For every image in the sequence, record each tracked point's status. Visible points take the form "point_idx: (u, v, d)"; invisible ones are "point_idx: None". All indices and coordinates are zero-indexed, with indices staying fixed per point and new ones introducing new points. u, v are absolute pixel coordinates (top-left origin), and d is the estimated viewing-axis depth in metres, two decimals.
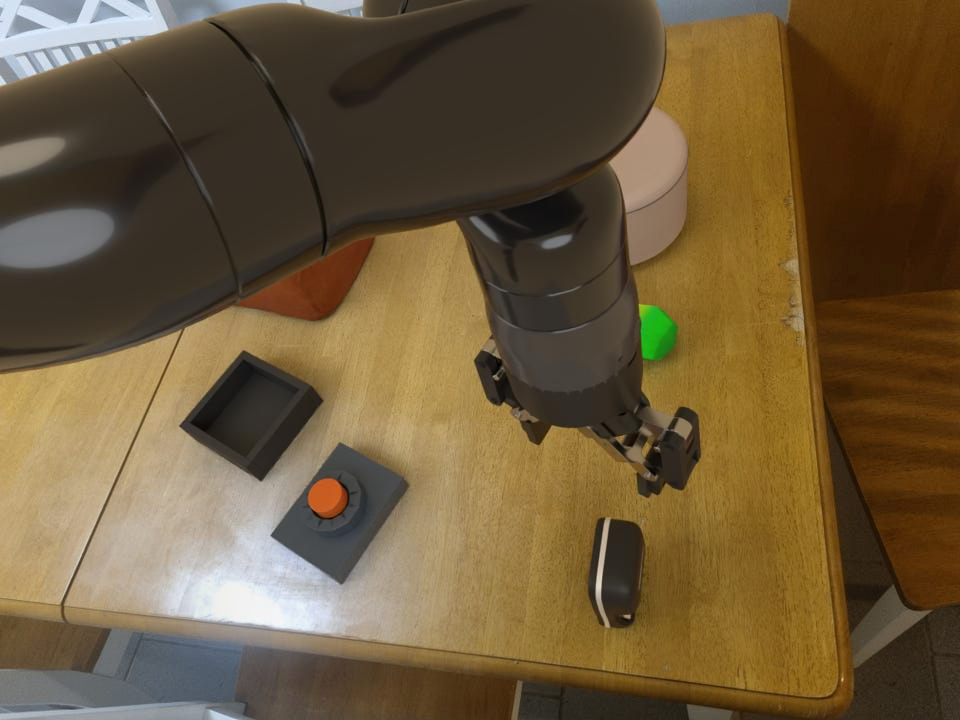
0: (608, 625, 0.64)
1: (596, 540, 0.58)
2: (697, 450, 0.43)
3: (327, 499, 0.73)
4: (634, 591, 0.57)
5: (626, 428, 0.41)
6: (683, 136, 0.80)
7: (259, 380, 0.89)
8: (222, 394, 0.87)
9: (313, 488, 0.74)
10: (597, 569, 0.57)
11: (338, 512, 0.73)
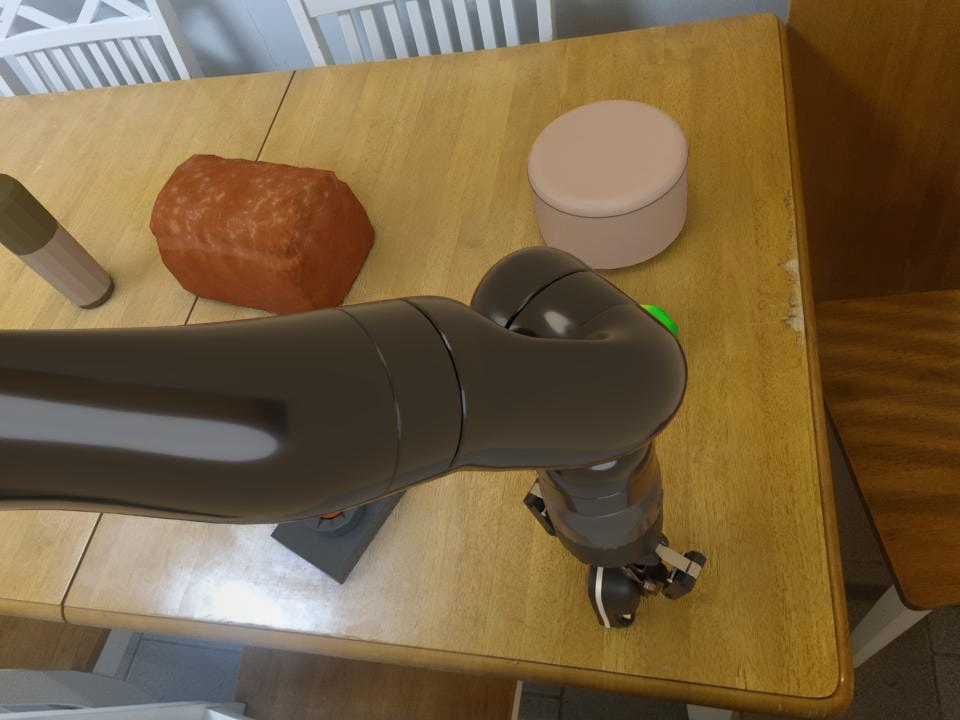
0: (608, 625, 0.64)
1: None
2: None
3: None
4: (634, 591, 0.57)
5: (648, 563, 0.50)
6: (683, 136, 0.80)
7: None
8: None
9: None
10: (597, 569, 0.57)
11: (338, 512, 0.73)
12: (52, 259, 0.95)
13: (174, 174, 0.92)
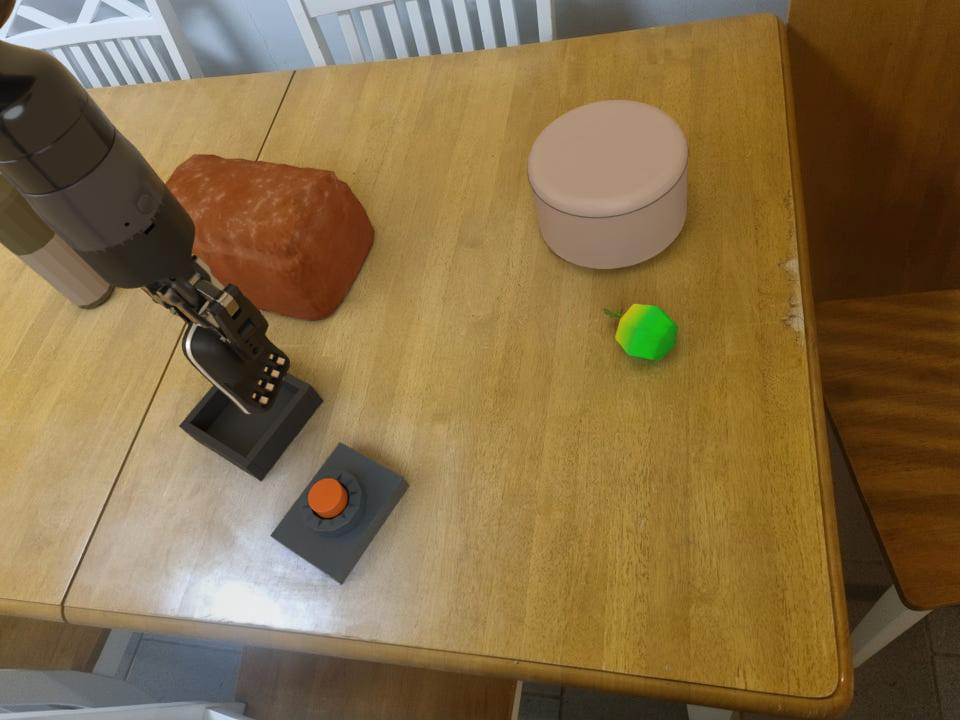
0: (244, 409, 0.67)
1: None
2: (252, 318, 0.56)
3: (327, 499, 0.73)
4: (222, 349, 0.59)
5: (185, 293, 0.53)
6: (683, 136, 0.80)
7: None
8: (222, 394, 0.87)
9: (313, 488, 0.74)
10: (190, 329, 0.60)
11: (338, 512, 0.73)
12: (52, 259, 0.95)
13: (174, 174, 0.92)
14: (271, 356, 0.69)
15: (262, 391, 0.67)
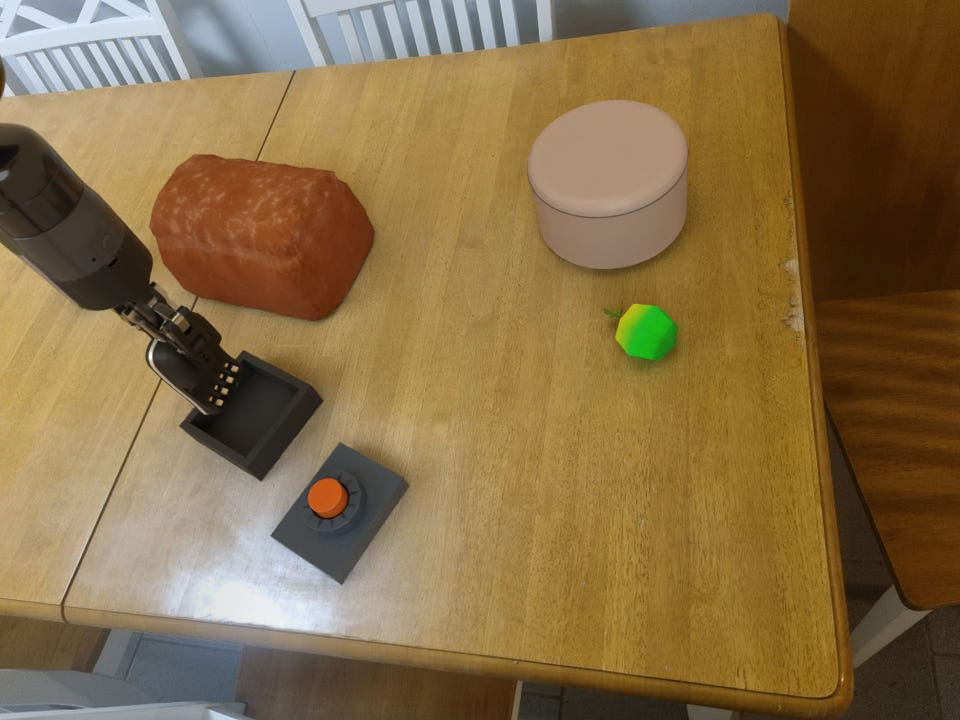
0: (202, 410, 0.78)
1: None
2: (202, 333, 0.67)
3: (327, 499, 0.73)
4: (179, 359, 0.70)
5: (145, 314, 0.64)
6: (683, 136, 0.80)
7: (259, 380, 0.89)
8: None
9: (313, 488, 0.74)
10: (152, 343, 0.71)
11: (338, 512, 0.73)
12: None
13: (174, 174, 0.92)
14: (226, 364, 0.80)
15: (218, 395, 0.78)
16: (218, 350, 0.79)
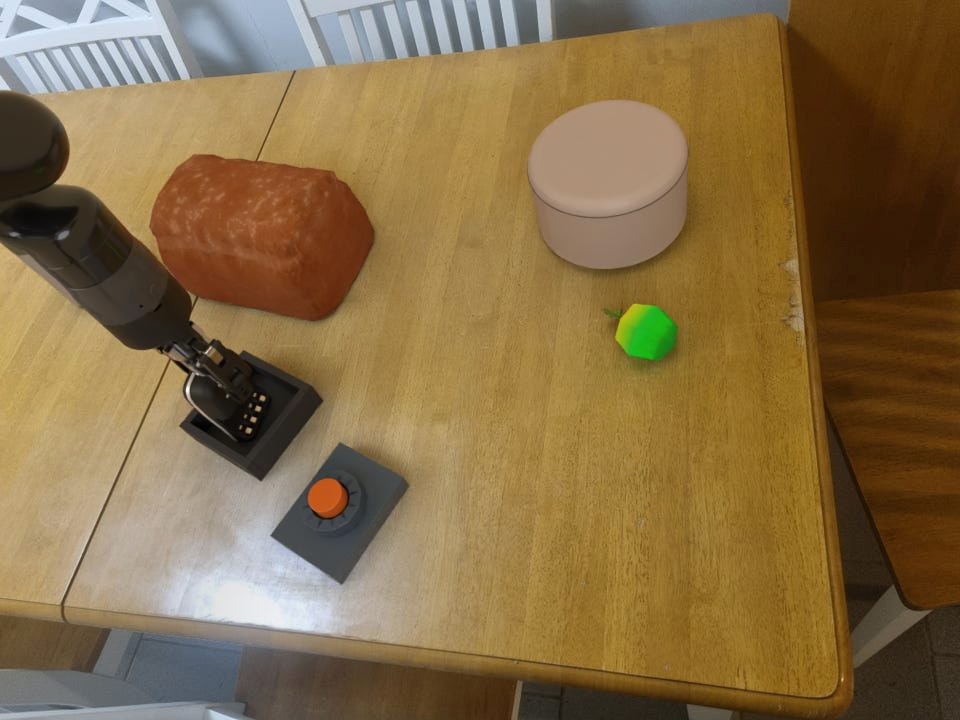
0: (233, 438, 0.84)
1: None
2: (238, 367, 0.71)
3: (327, 499, 0.73)
4: (214, 394, 0.76)
5: (184, 352, 0.69)
6: (683, 136, 0.80)
7: (259, 380, 0.89)
8: None
9: (313, 488, 0.74)
10: (189, 378, 0.76)
11: (338, 512, 0.73)
12: None
13: (174, 174, 0.92)
14: (255, 394, 0.85)
15: (247, 423, 0.84)
16: (248, 381, 0.84)
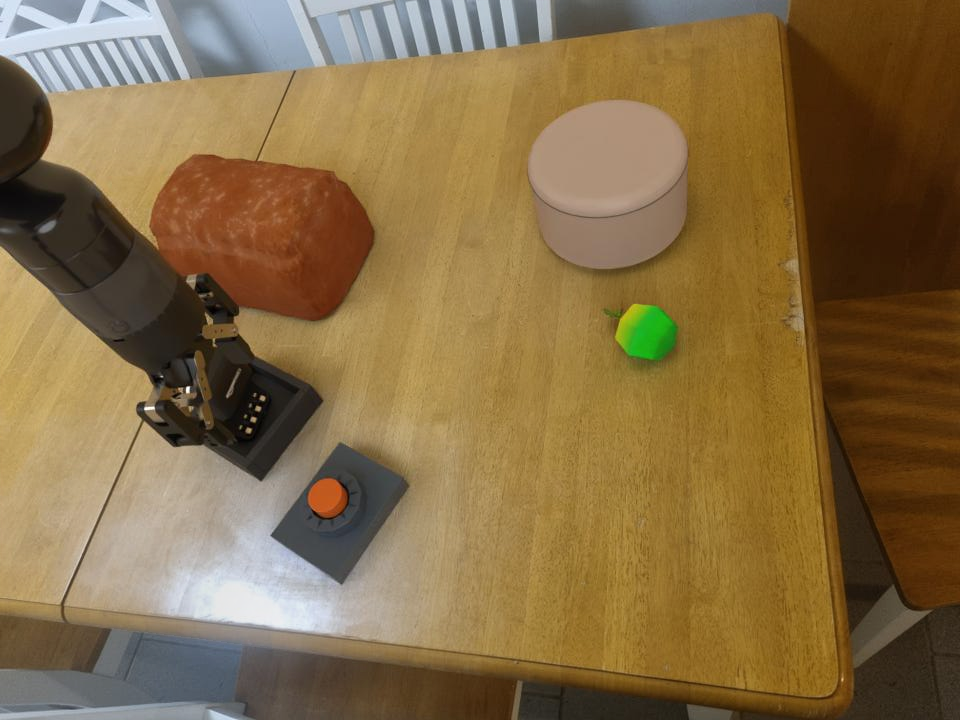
0: None
1: None
2: (185, 436, 0.59)
3: (327, 499, 0.73)
4: (214, 394, 0.76)
5: None
6: (683, 136, 0.80)
7: (259, 380, 0.89)
8: None
9: (313, 488, 0.74)
10: None
11: (338, 512, 0.73)
12: None
13: (174, 174, 0.92)
14: (255, 394, 0.85)
15: (247, 423, 0.84)
16: (248, 381, 0.84)
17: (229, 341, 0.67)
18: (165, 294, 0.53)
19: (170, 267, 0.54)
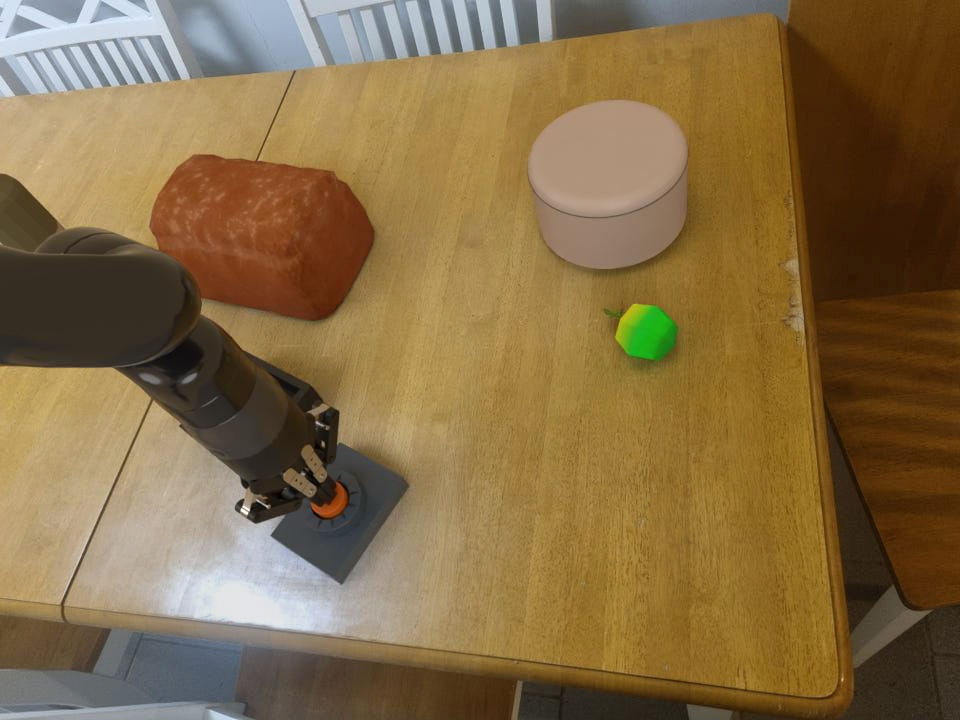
0: None
1: None
2: None
3: None
4: None
5: None
6: (683, 136, 0.80)
7: None
8: None
9: None
10: None
11: (340, 514, 0.74)
12: None
13: (174, 174, 0.92)
14: None
15: None
16: None
17: (315, 482, 0.70)
18: (265, 440, 0.57)
19: (281, 412, 0.58)
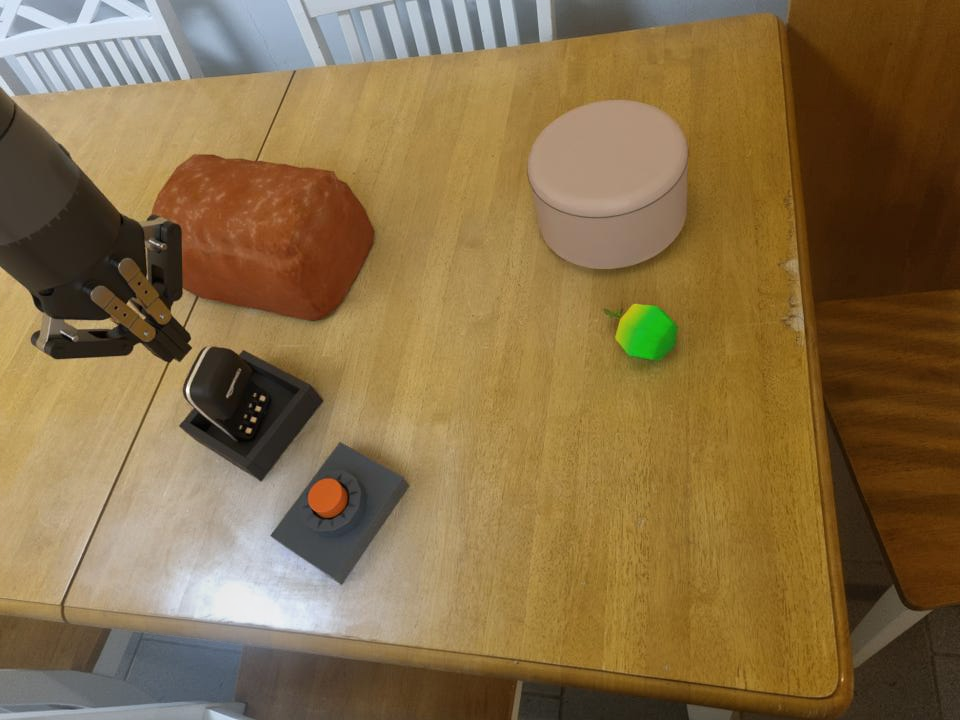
0: (233, 438, 0.84)
1: (196, 359, 0.78)
2: None
3: (327, 499, 0.73)
4: (214, 394, 0.76)
5: None
6: (683, 136, 0.80)
7: (259, 380, 0.89)
8: None
9: (313, 488, 0.74)
10: (189, 378, 0.76)
11: (338, 512, 0.73)
12: None
13: (174, 174, 0.92)
14: (255, 394, 0.85)
15: (247, 423, 0.84)
16: (248, 381, 0.84)
17: (156, 326, 0.55)
18: (36, 217, 0.41)
19: (64, 184, 0.42)
